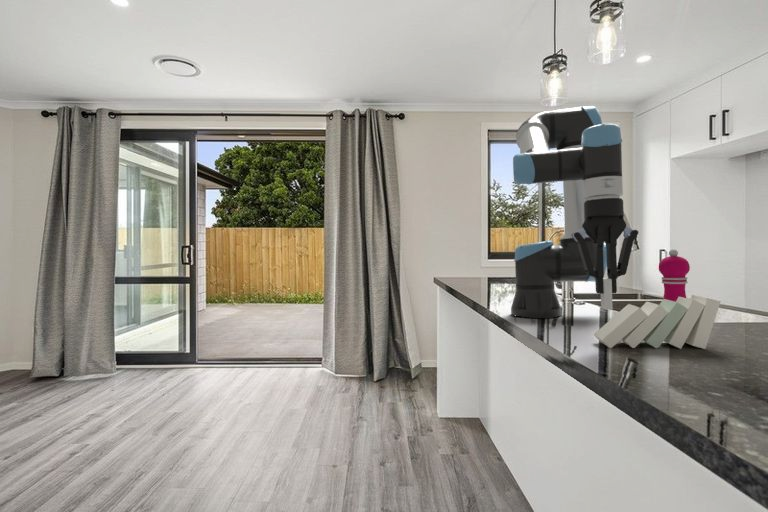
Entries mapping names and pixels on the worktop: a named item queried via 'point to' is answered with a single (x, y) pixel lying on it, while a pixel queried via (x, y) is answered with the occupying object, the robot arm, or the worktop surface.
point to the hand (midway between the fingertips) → (606, 308)
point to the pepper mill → (674, 275)
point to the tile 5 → (703, 322)
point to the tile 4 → (684, 322)
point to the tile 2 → (645, 324)
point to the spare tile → (665, 323)
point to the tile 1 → (620, 325)
